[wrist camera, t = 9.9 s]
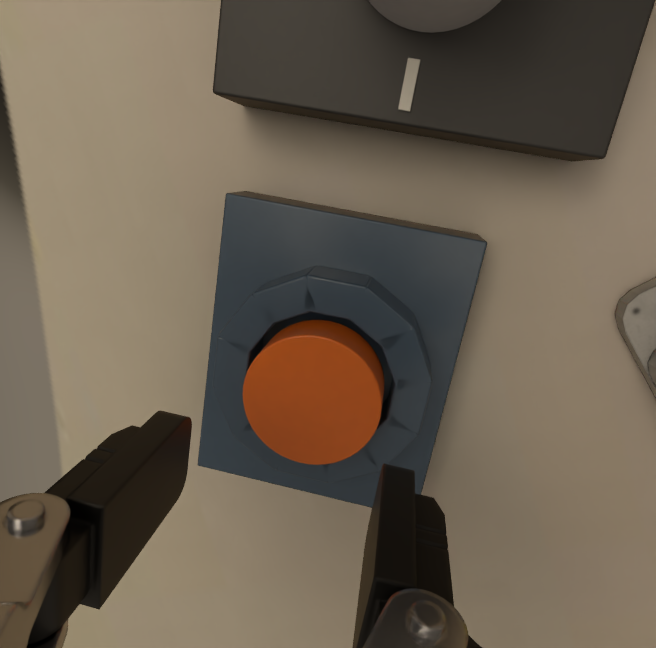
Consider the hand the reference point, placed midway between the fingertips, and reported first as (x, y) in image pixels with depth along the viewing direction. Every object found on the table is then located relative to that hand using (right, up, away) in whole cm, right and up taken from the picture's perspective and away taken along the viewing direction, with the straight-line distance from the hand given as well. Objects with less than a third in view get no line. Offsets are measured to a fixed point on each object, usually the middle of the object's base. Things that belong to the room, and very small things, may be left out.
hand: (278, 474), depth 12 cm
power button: (+1, +2, +5) cm, 6 cm away
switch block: (+1, +3, +9) cm, 9 cm away
